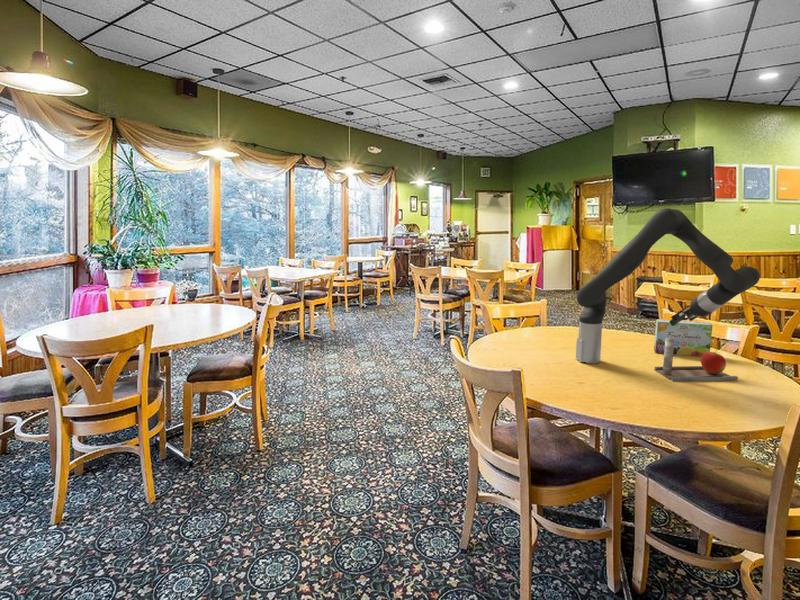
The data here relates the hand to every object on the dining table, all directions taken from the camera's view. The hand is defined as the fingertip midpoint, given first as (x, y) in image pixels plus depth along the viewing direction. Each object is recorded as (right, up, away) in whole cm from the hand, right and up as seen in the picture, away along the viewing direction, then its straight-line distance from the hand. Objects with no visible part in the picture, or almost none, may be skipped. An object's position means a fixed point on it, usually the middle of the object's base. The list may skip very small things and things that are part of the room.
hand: (680, 321), depth 183 cm
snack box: (+18, -16, +29) cm, 38 cm away
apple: (+12, -21, -1) cm, 24 cm away
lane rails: (+5, -21, 0) cm, 22 cm away
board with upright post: (+5, -21, 0) cm, 22 cm away
